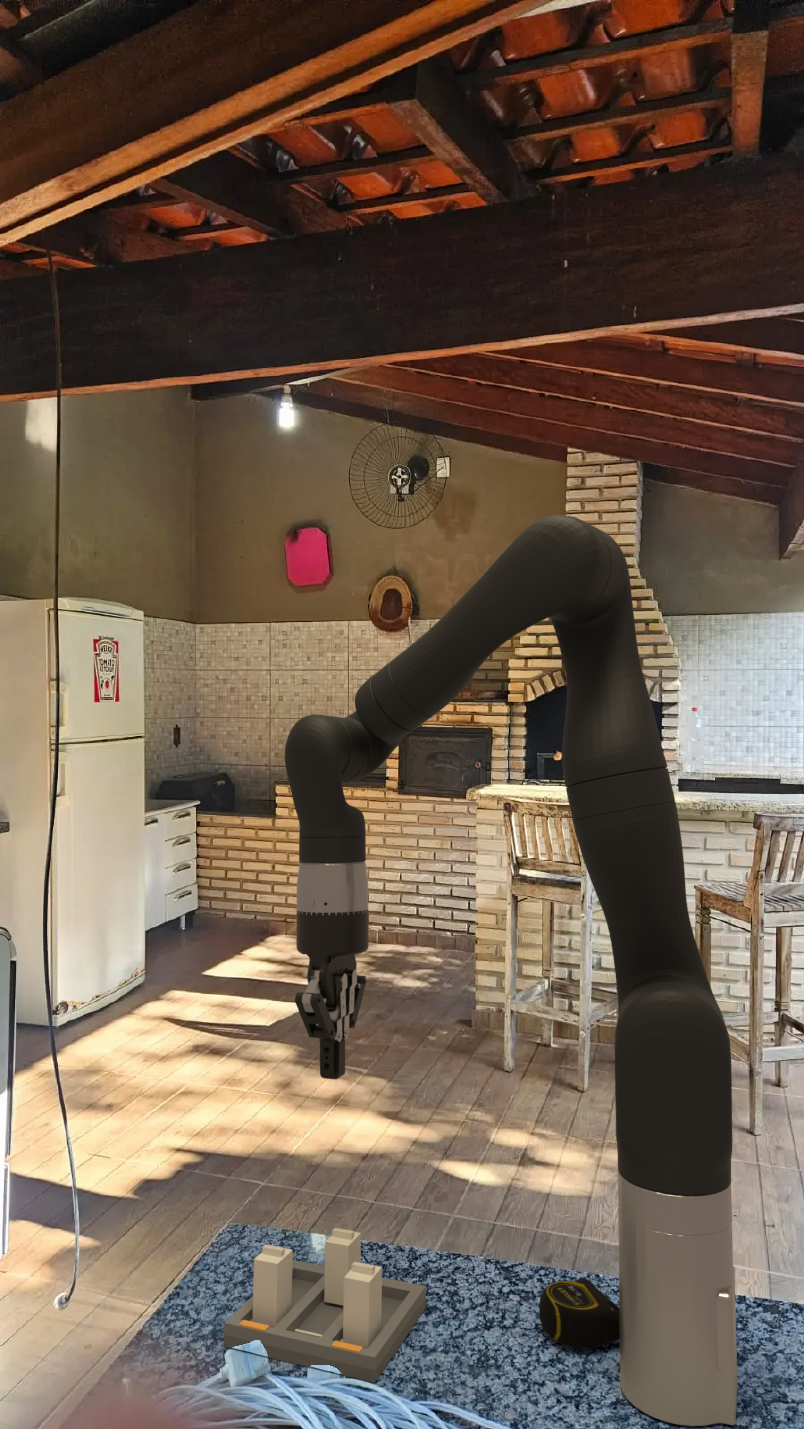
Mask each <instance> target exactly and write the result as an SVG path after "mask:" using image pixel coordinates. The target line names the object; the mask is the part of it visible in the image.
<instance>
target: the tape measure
mask: <svg viewBox="0 0 804 1429" xmlns="http://www.w3.org/2000/svg"><path fill="white" fill-rule="evenodd" d="M538 1309H539V1320H540V1323H541V1326H542V1328H543V1331H544V1332H545V1333H546V1334H547V1335H548V1336H549V1337H550V1338H551V1339H552V1340H554V1341H556V1342H557V1343H558V1344H561V1345H562V1346H563V1345H564V1346H567V1347H569V1348H574V1349H583V1350H587V1349H588V1350H589V1349H590V1350H592V1349H596V1348H598V1347H601V1346H603V1345H606V1344H609V1343H612V1342H616V1341H620V1324H619V1305H618V1306H617V1304H615V1303H614V1302H613V1301H612V1300H611V1299H609V1298H608V1297H607V1296H606V1295H605V1294H604V1292H602V1291H600V1290H599V1288H598V1287H596V1285H595V1284H593V1282H592V1281H590V1280H589V1279H588V1278H585V1277H584V1278H580V1279H577V1280H575V1281H574V1280H558V1281H555V1282H552V1283H550V1284H549V1285H548V1286H546V1287H544V1289H543V1291H542V1295H541V1296H540V1298H539V1308H538Z"/></svg>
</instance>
